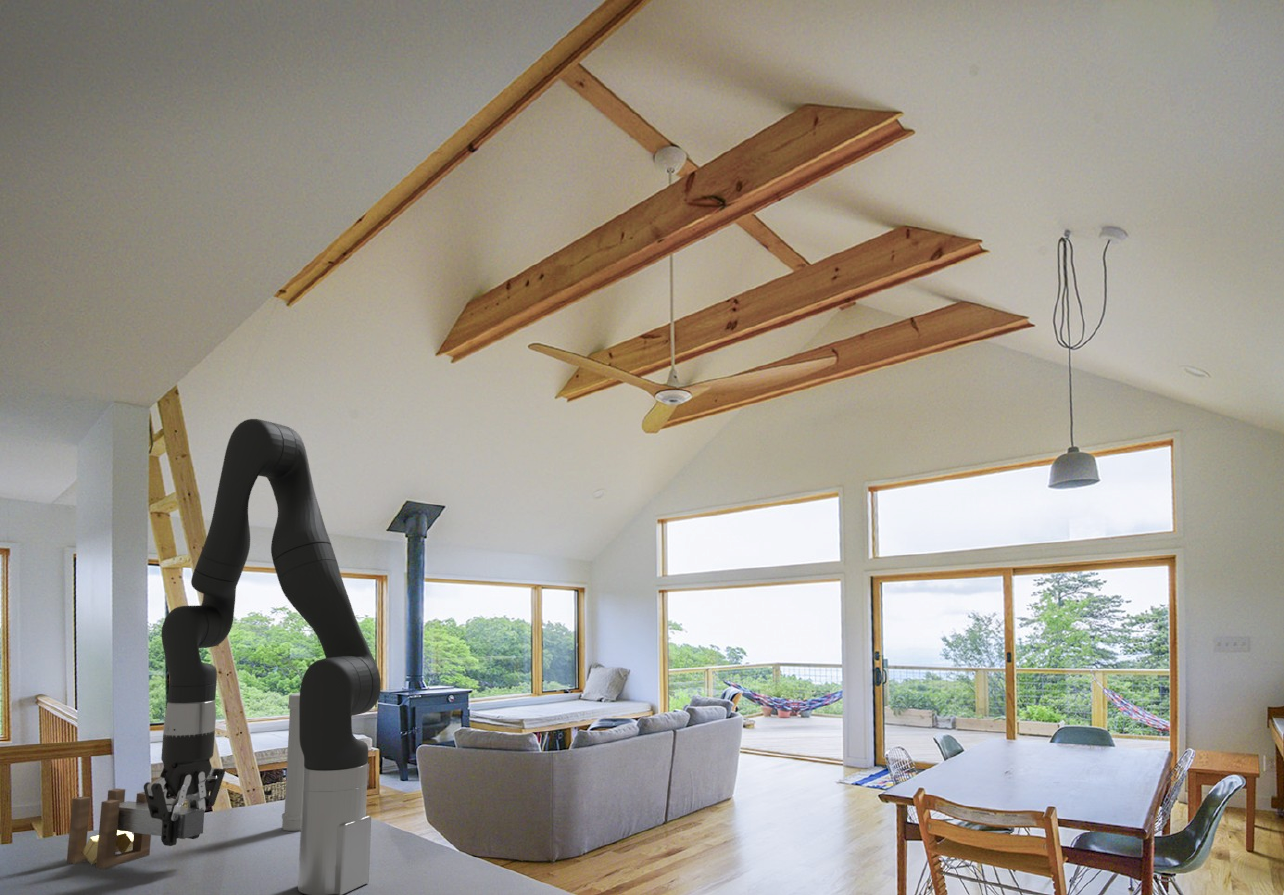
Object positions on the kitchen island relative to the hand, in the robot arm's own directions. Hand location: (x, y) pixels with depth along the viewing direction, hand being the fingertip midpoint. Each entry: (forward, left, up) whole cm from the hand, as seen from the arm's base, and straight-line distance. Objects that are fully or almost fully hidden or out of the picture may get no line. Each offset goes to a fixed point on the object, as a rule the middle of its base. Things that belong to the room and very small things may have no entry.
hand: (181, 840), depth 139 cm
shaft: (+6, 0, +1) cm, 6 cm away
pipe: (+1, -26, -4) cm, 26 cm away
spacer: (+15, 0, -3) cm, 15 cm away
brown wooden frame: (+16, 0, -4) cm, 17 cm away
